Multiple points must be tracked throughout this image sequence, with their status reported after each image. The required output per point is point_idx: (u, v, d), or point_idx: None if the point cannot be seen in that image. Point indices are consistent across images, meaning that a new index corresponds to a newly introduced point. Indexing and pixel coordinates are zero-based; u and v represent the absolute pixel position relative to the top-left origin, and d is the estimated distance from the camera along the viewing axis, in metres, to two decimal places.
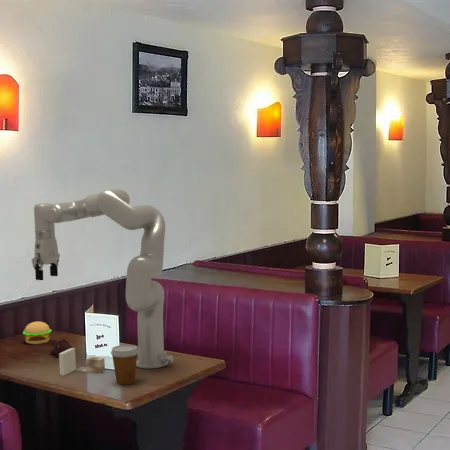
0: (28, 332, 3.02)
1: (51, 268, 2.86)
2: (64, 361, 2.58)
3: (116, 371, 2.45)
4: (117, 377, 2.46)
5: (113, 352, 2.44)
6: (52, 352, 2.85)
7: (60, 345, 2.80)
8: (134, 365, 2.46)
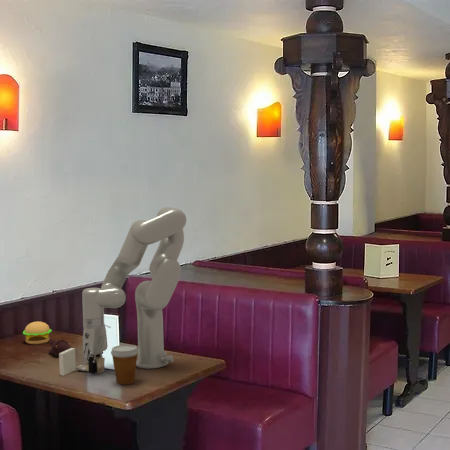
0: (28, 332, 3.02)
1: None
2: (64, 361, 2.58)
3: (116, 371, 2.45)
4: (117, 377, 2.46)
5: (113, 352, 2.44)
6: (51, 352, 2.85)
7: (58, 345, 2.80)
8: (134, 365, 2.46)
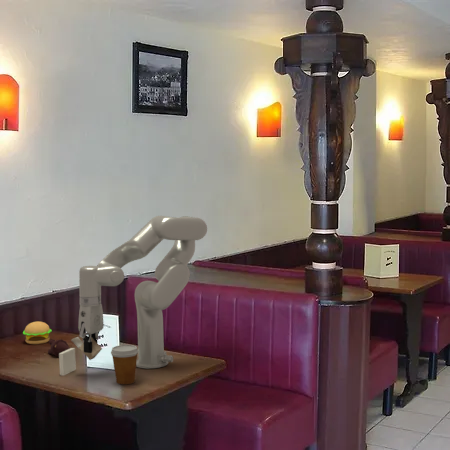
0: (28, 332, 3.02)
1: None
2: (64, 361, 2.58)
3: (116, 371, 2.45)
4: (117, 377, 2.46)
5: (113, 352, 2.44)
6: (50, 352, 2.85)
7: (57, 345, 2.80)
8: (134, 365, 2.46)
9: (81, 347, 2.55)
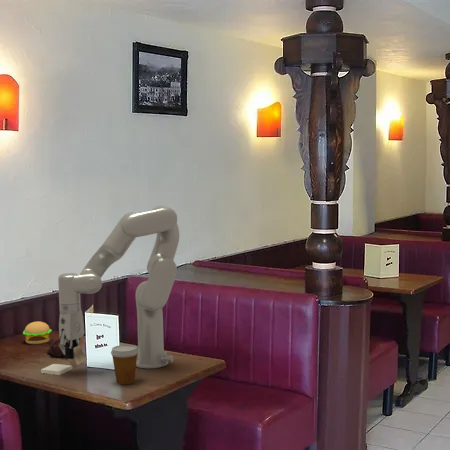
0: (28, 332, 3.02)
1: (72, 347, 2.61)
2: (49, 369, 2.60)
3: (116, 371, 2.45)
4: (117, 377, 2.46)
5: (113, 352, 2.44)
6: (49, 352, 2.85)
7: (56, 345, 2.81)
8: (134, 365, 2.46)
9: None
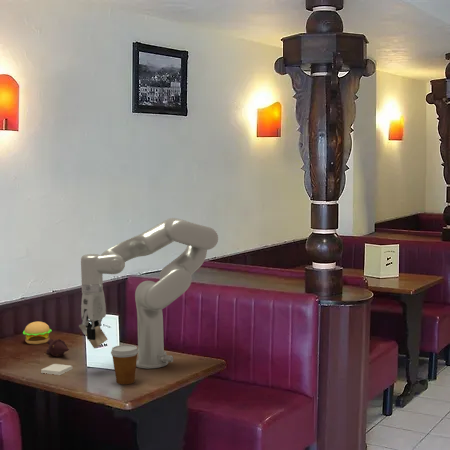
0: (28, 332, 3.02)
1: None
2: (50, 369, 2.60)
3: (116, 371, 2.45)
4: (117, 377, 2.46)
5: (113, 352, 2.44)
6: (48, 351, 2.86)
7: (55, 345, 2.81)
8: (134, 365, 2.46)
9: None
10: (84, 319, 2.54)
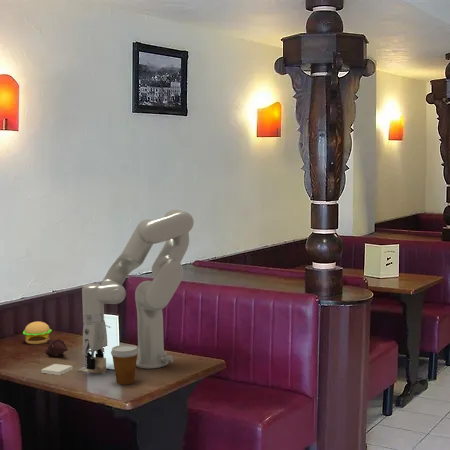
0: (28, 332, 3.02)
1: (97, 356, 2.63)
2: (50, 369, 2.60)
3: (116, 371, 2.45)
4: (117, 377, 2.46)
5: (113, 352, 2.44)
6: (47, 351, 2.86)
7: (54, 345, 2.81)
8: (134, 365, 2.46)
9: (89, 370, 2.60)
10: (85, 347, 2.54)
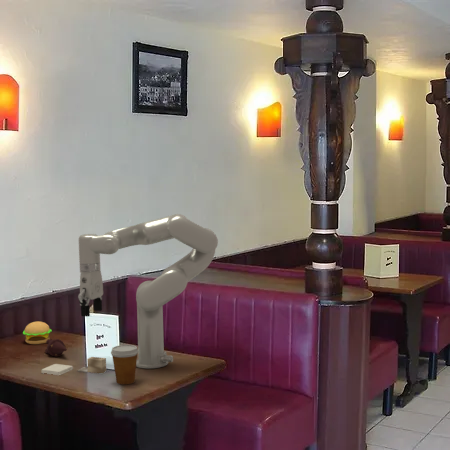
0: (28, 332, 3.02)
1: (95, 302, 2.69)
2: (50, 369, 2.60)
3: (116, 371, 2.45)
4: (117, 377, 2.46)
5: (113, 352, 2.44)
6: (47, 351, 2.86)
7: (53, 345, 2.81)
8: (134, 365, 2.46)
9: (89, 370, 2.60)
10: (82, 290, 2.58)
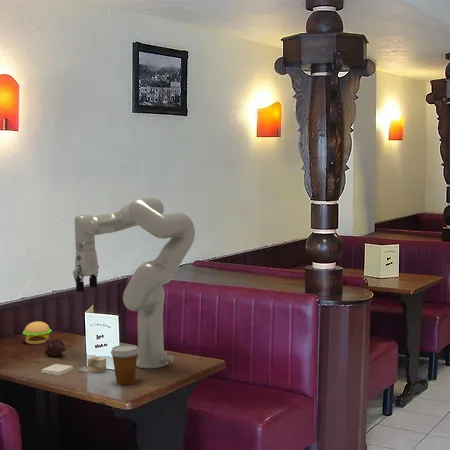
0: (28, 332, 3.02)
1: (90, 279, 2.86)
2: (50, 369, 2.60)
3: (116, 371, 2.45)
4: (117, 377, 2.46)
5: (113, 352, 2.44)
6: (46, 351, 2.86)
7: (52, 345, 2.81)
8: (134, 365, 2.46)
9: (89, 370, 2.60)
10: (77, 267, 2.75)
